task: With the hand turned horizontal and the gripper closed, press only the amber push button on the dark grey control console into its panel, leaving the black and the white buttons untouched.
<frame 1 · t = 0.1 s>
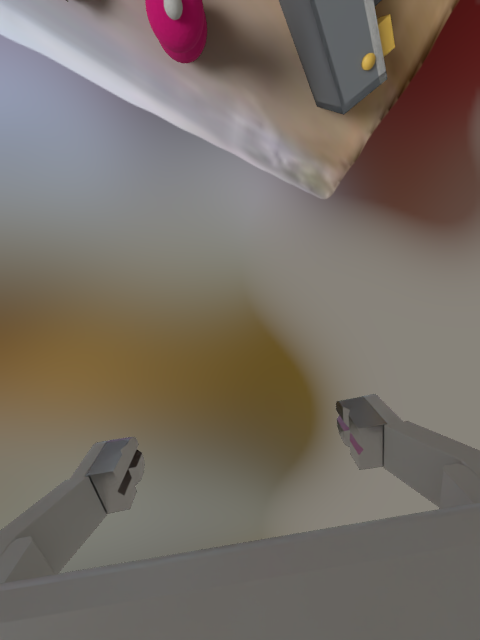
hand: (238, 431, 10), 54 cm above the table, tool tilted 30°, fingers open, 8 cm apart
amber button: (371, 45, 35), point 7 cm above the table, slide at 0.0 cm
console: (321, 22, 38), on the table
pepper mill: (182, 29, 37), on the table
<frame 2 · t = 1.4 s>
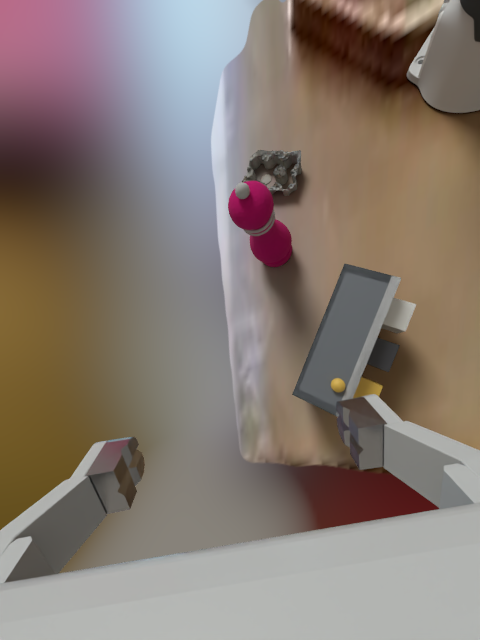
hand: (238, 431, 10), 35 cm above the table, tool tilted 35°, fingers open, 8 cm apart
amber button: (359, 389, 33), point 7 cm above the table, slide at 0.0 cm
console: (348, 345, 40), on the table
egg carton: (274, 180, 49), on the table
black button: (374, 352, 33), point 7 cm above the table, slide at 0.0 cm
pepper mill: (276, 252, 47), on the table
white button: (389, 314, 33), point 7 cm above the table, slide at 0.0 cm
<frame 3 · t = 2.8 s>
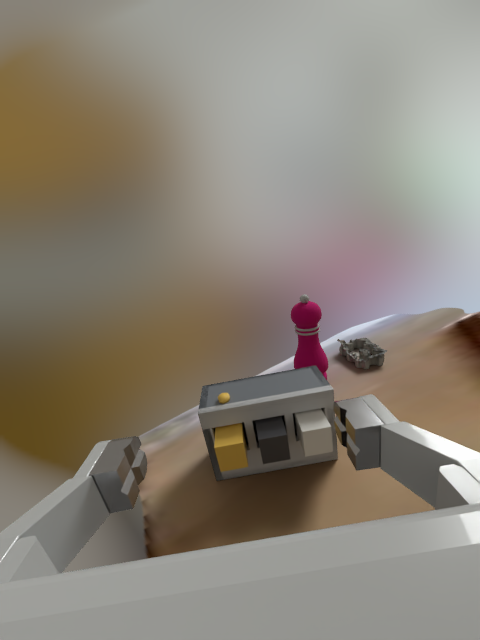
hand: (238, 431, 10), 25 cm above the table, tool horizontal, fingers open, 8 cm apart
amber button: (231, 444, 32), point 7 cm above the table, slide at 0.0 cm
console: (274, 458, 37), on the table
egg carton: (361, 358, 60), on the table
black button: (271, 437, 32), point 7 cm above the table, slide at 0.0 cm
pepper mill: (312, 381, 54), on the table
white button: (312, 430, 32), point 7 cm above the table, slide at 0.0 cm
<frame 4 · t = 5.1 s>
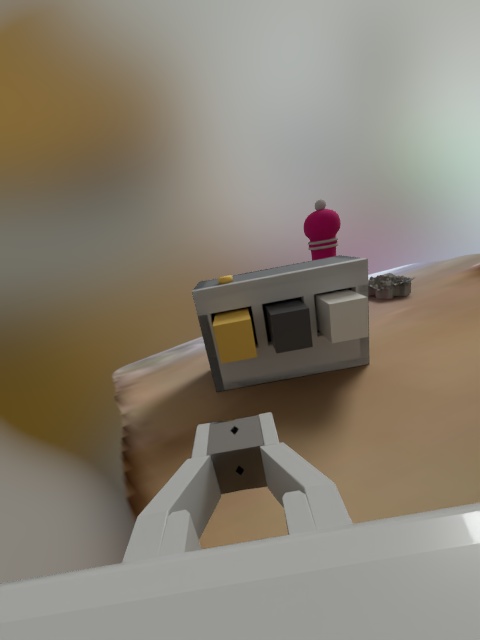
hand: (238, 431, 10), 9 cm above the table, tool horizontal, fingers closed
amber button: (235, 334, 25), point 7 cm above the table, slide at 0.0 cm
console: (288, 369, 30), on the table
egg carton: (383, 294, 53), on the table
black button: (287, 324, 25), point 7 cm above the table, slide at 0.0 cm
pepper mill: (327, 313, 47), on the table
white button: (340, 314, 25), point 7 cm above the table, slide at 0.0 cm
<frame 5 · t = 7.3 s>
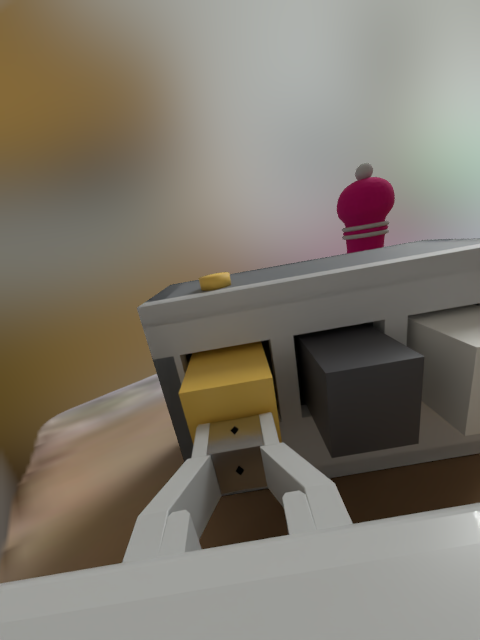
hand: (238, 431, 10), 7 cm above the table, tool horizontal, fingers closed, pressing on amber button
amber button: (233, 398, 12), point 7 cm above the table, slide at 0.3 cm, touching gripper
console: (332, 448, 16), on the table
black button: (350, 382, 11), point 7 cm above the table, slide at 0.0 cm
pepper mill: (365, 330, 33), on the table
white button: (468, 362, 11), point 7 cm above the table, slide at 0.0 cm
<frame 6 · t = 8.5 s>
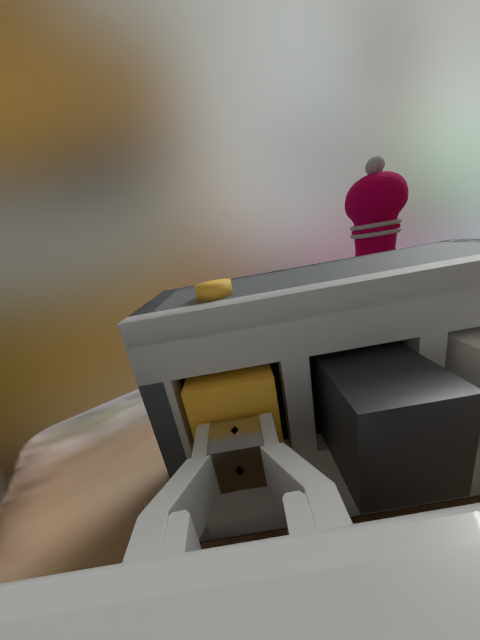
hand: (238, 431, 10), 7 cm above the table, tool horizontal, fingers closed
amber button: (235, 398, 12), point 7 cm above the table, slide at 2.6 cm
console: (348, 477, 14), on the table
black button: (379, 414, 9), point 7 cm above the table, slide at 0.0 cm
pepper mill: (374, 335, 31), on the table
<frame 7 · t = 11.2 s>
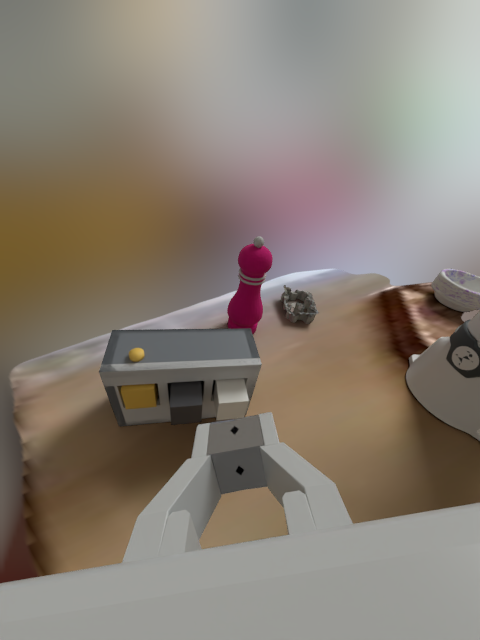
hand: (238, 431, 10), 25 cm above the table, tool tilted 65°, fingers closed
amber button: (141, 385, 31), point 7 cm above the table, slide at 2.6 cm
console: (186, 407, 37), on the table
egg carton: (296, 311, 61), on the table
black button: (186, 399, 30), point 7 cm above the table, slide at 0.0 cm
pepper mill: (241, 327, 53), on the table
paper bowls: (451, 303, 76), on the table
white button: (229, 396, 31), point 7 cm above the table, slide at 0.0 cm
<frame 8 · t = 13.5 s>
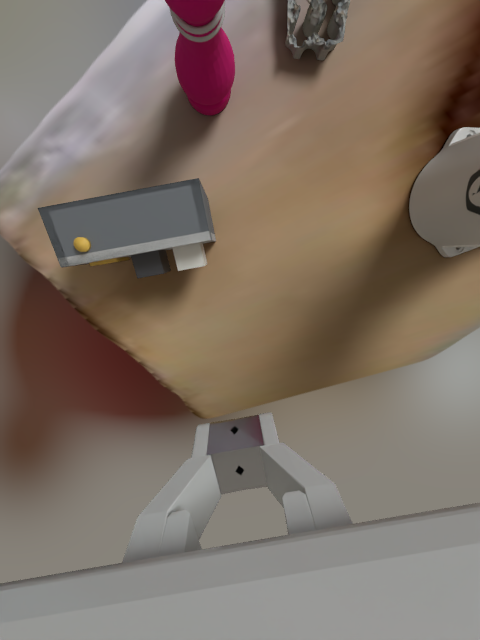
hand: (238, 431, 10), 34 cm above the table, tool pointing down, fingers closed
amber button: (106, 248, 33), point 7 cm above the table, slide at 2.6 cm
console: (159, 238, 39), on the table
egg carton: (312, 13, 32), on the table
black button: (151, 259, 34), point 7 cm above the table, slide at 0.0 cm
pepper mill: (208, 90, 34), on the table
white button: (190, 252, 34), point 7 cm above the table, slide at 0.0 cm
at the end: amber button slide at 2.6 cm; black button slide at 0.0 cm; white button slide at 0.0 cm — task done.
